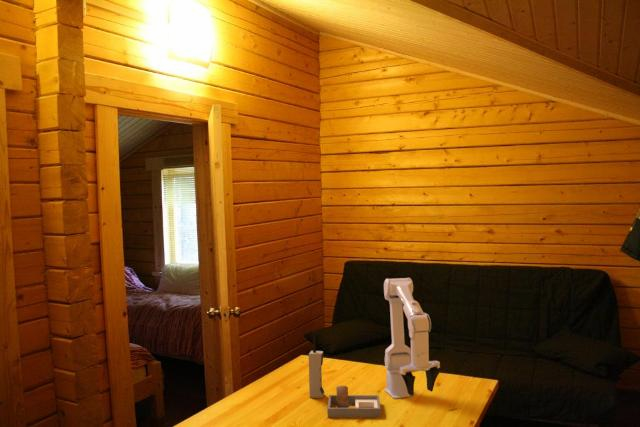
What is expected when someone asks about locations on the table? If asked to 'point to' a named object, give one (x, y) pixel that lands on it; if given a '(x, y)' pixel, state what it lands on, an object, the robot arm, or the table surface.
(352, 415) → the grey tray
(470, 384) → the table surface
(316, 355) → the vintage mobile phone
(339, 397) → the walnut peg
